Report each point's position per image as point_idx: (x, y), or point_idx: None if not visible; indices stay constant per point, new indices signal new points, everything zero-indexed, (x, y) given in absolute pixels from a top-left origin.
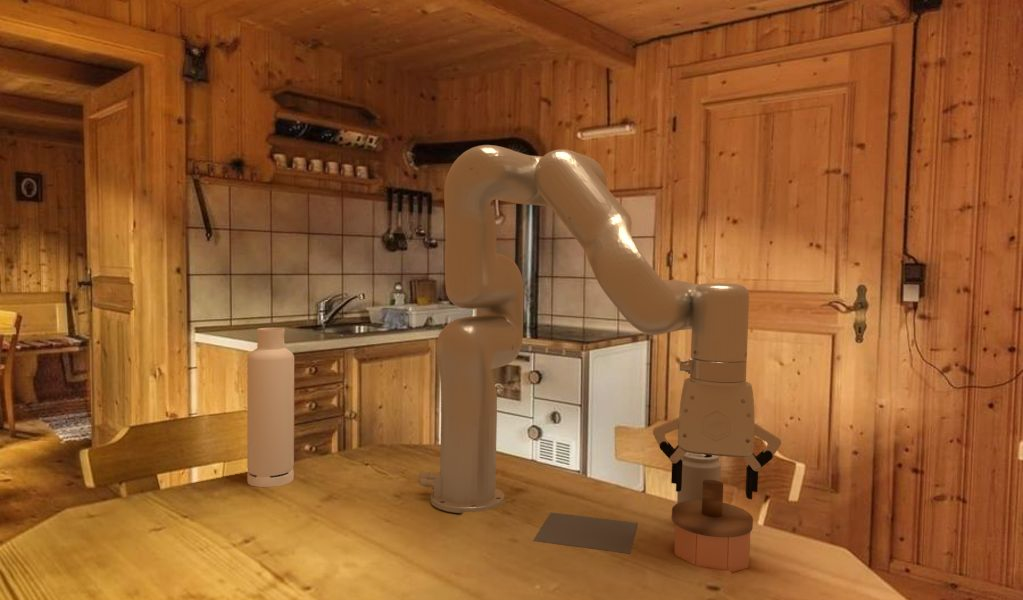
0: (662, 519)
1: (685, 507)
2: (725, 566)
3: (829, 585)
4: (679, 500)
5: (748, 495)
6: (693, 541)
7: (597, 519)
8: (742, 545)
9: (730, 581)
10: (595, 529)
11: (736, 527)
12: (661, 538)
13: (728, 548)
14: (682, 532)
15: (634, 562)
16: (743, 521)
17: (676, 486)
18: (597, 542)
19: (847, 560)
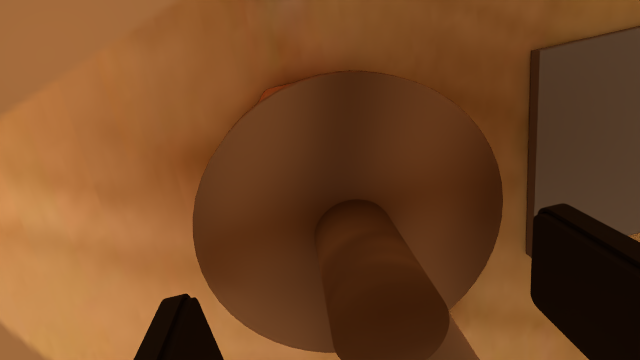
0: (472, 320)
1: (455, 242)
2: (270, 90)
3: (4, 164)
4: (469, 344)
5: (178, 303)
6: None
7: (632, 225)
8: None
9: (244, 41)
10: (637, 161)
11: (230, 139)
12: None
13: (260, 100)
14: None
15: (515, 25)
16: (223, 220)
17: (579, 213)
18: (632, 77)
19: (26, 329)
